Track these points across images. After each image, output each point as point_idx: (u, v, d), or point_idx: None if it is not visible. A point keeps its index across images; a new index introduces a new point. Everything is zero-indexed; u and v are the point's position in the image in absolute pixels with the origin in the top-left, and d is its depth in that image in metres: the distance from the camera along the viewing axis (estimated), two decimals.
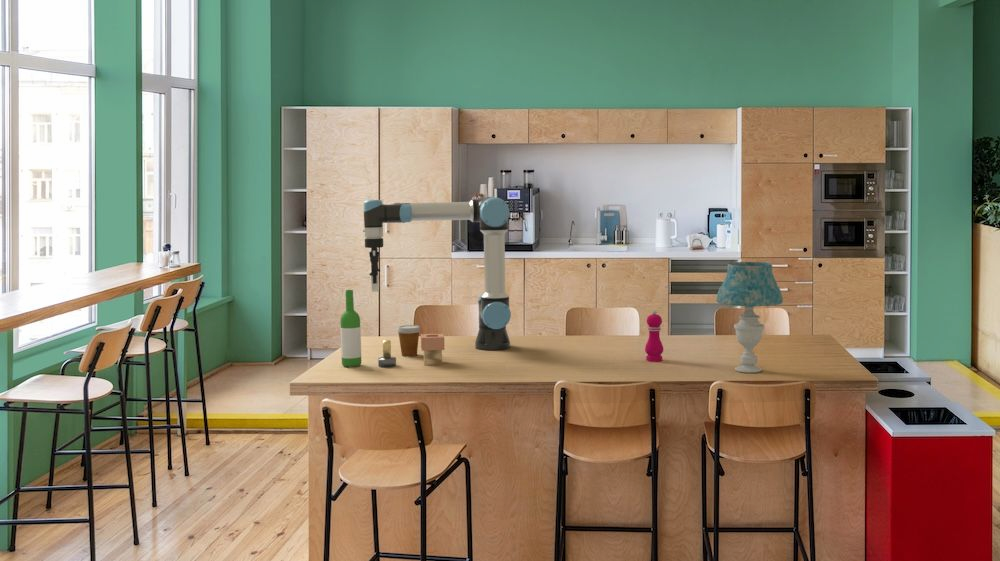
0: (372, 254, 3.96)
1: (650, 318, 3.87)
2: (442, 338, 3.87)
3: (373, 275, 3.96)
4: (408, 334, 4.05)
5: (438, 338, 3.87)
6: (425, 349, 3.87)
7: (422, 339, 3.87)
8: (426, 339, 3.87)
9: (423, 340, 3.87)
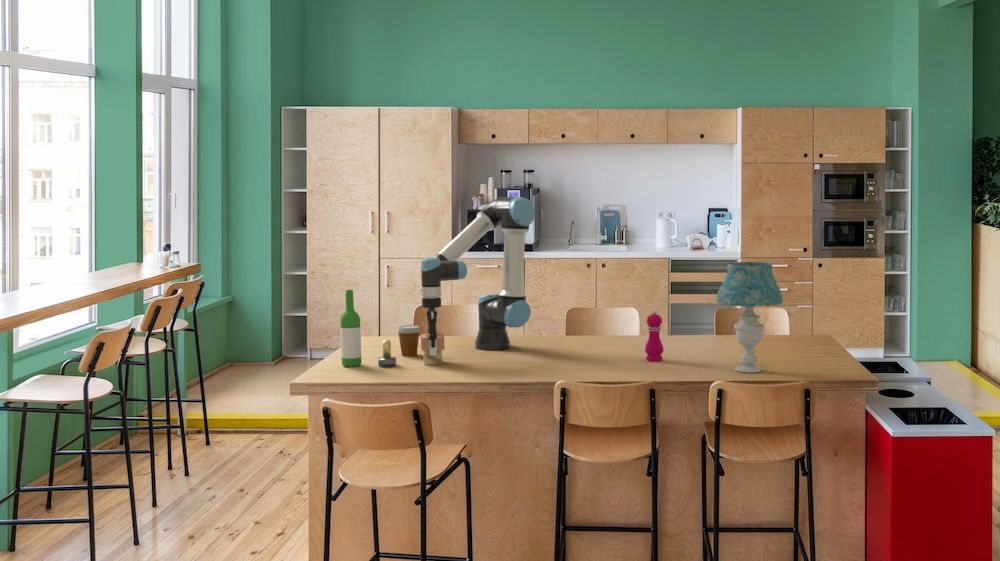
0: (430, 317, 3.84)
1: (650, 318, 3.87)
2: (442, 338, 3.87)
3: (431, 339, 3.85)
4: (408, 334, 4.05)
5: (438, 338, 3.87)
6: (425, 349, 3.87)
7: (422, 339, 3.87)
8: (426, 339, 3.87)
9: (423, 340, 3.87)
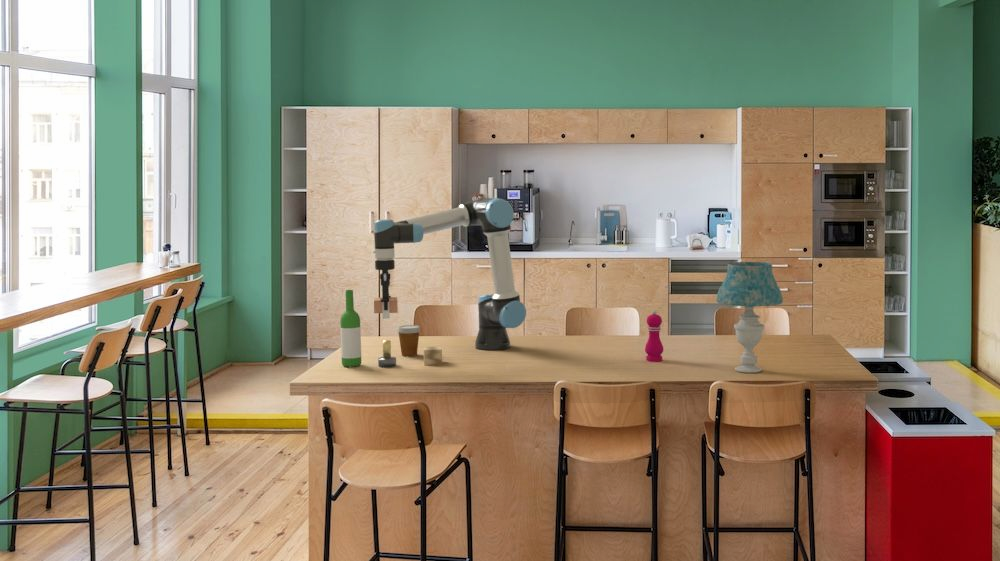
0: (383, 279, 3.78)
1: (650, 318, 3.87)
2: (395, 301, 3.82)
3: (384, 301, 3.79)
4: (408, 334, 4.05)
5: (391, 301, 3.82)
6: (378, 312, 3.82)
7: (375, 302, 3.81)
8: (379, 302, 3.81)
9: (376, 303, 3.81)
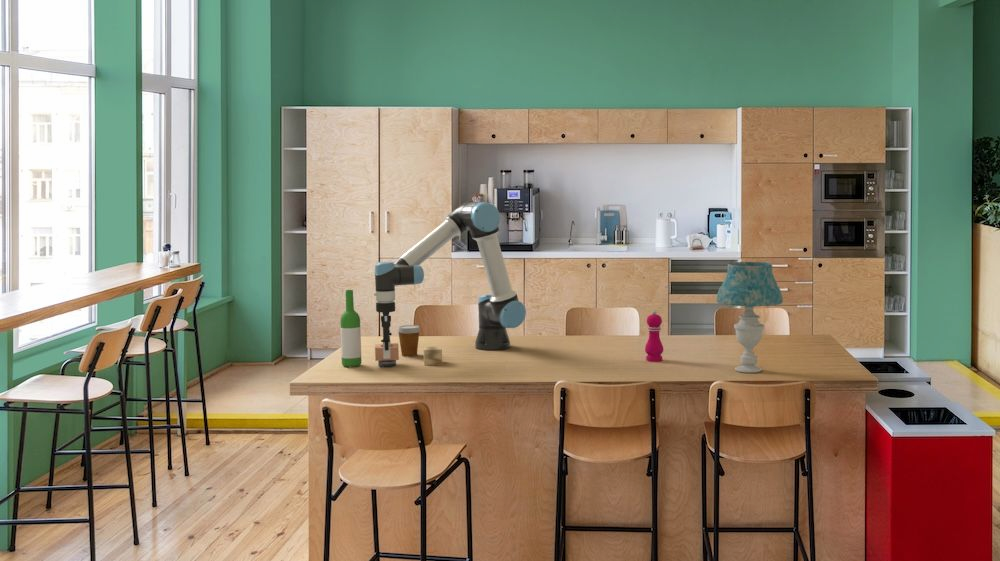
0: (384, 320, 3.80)
1: (650, 318, 3.87)
2: (396, 348, 3.84)
3: (385, 342, 3.79)
4: (408, 334, 4.05)
5: (392, 348, 3.84)
6: (379, 359, 3.84)
7: (376, 349, 3.83)
8: (380, 349, 3.83)
9: (377, 350, 3.83)
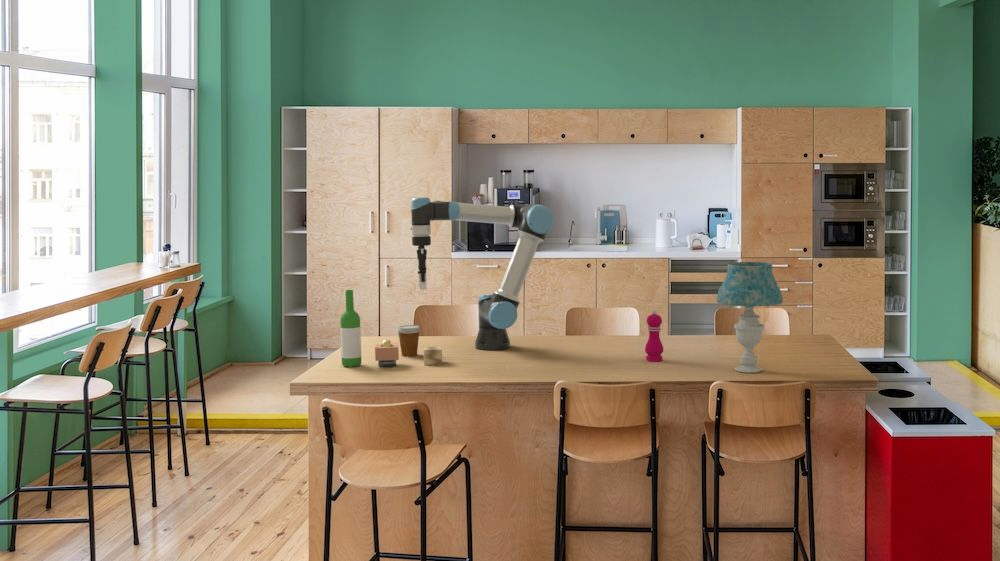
0: (420, 252, 3.94)
1: (650, 318, 3.87)
2: (396, 348, 3.84)
3: (421, 273, 3.93)
4: (408, 334, 4.05)
5: (392, 348, 3.84)
6: (379, 359, 3.84)
7: (376, 349, 3.83)
8: (380, 349, 3.83)
9: (377, 350, 3.83)
